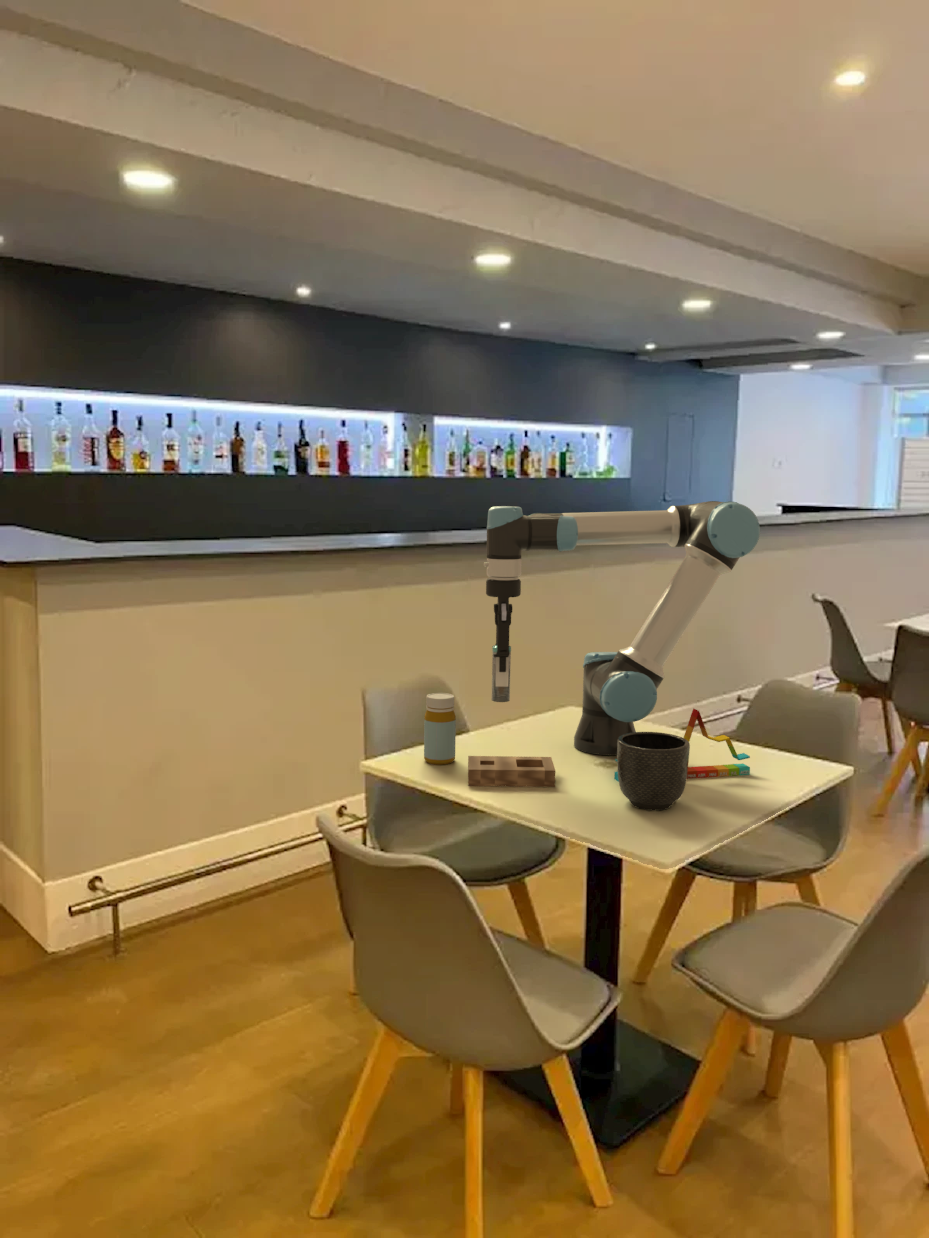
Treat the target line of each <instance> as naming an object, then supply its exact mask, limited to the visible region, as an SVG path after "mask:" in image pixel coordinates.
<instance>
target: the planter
mask: <svg viewBox="0 0 929 1238" xmlns="http://www.w3.org/2000/svg"><path fill="white" fill-rule="evenodd" d="M690 750H691V745H690V741H689V742H688V741H687V740H686V739H684V737H682V736H679V735H676V734H671V733H666V732H657V731H636V732H633V733H627V734H624V735H621V736H620V737H619V738H618V741H617V755H616V759H617V761H616V762H617V764H616V765H617V772H618V780H619V782H618V784H619V788H620V791H621V793H622V794H623V796H624V797H625V798H627V800H629V803H630V805H632V806H633V807H635V808H638V809H639V810H645V811H663V810H667V809H669V808H671V807H672V806H673V804H674V803H675V802H677V801H678V800H680V798H681V797H682V795H683V793H684V791H685V789H686V784H687V772H688V767H689V761H690Z"/></svg>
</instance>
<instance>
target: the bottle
mask: <svg viewBox="0 0 929 1238" xmlns="http://www.w3.org/2000/svg"><path fill="white" fill-rule="evenodd" d="M425 699H426V700H425V701H426V711H425V714H424V725H423V726H424V727H423V728H424V729H423V730H424V731H423V733H424V734H423V735H424V737H423V759H424V760H425V762H426V763H428V764H431V765H435V766H436V765H438V766H443V765H444V766H445V765H449V764H452V763H453V762H454V761H455V760H456V735H457V734H456V733H457V731H456V726H457V724H456V723H457V722H456V721H457V720H456V714H455V707H454V706H455V696H454V694H453V693H452V694H451V693H447V692H434V693H428V694H426V698H425Z"/></svg>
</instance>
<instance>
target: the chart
mask: <svg viewBox="0 0 929 1238" xmlns="http://www.w3.org/2000/svg"><path fill="white" fill-rule="evenodd" d="M696 722H697V723H698V727H699V729H700V732H701V735H702V737H704V738H706V739H708V740H711V741H714V742H717V743H721V742H724V741H725V742H726V745H727V747H728V750H729V751H730V754H731V756H732V757H733V758H734V759H736V760H737V761H742V760H746V759H750V758H751V756H750V755H748V754H747V753H745V752H743V753H742V752H741V753H738V754H737V752H736V749H735V747H734V745H733V742H732V741H731V738H730V737H729V736H727V735H724V734H721V735H717V736H713V737H712V736H711V735H709V734H708V731H707V729H706V726H705V723H704V721H703V718H702V715H701V712H700V710H698V709H695V708H692V711H691V714H690V717H689V721H688V723H687V726H686V729H685V731H684V734H683V738H684V739H686V740H687V741H688V742H689V743H690V741H691V738H692V735H693V732H694V729H695V725H696ZM614 761H615V762H617V758H614ZM750 773H751V767H750V766H749V765H747V764H745V763H744V762H743V763H730V764H718V765H717V764H716V765H702V766H688V772H687V779H703V778H705V779H706V778H719V777H733V776H748V775H750ZM613 777H614V780H615V781H616V782H617V783H619V780H618V771H614V776H613ZM687 779H686V780H687Z"/></svg>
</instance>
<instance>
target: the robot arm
mask: <svg viewBox="0 0 929 1238" xmlns="http://www.w3.org/2000/svg"><path fill="white" fill-rule="evenodd" d="M486 523H487V525H486V562H485V561H484V562H483V567H485V568H486V567H487V568H486V576H487V577H488V578H487V579H486V580H485V582H486V583H485V594H486V596H488V597H492V598H497V603H494V604H493V613H494V624H495V626H496V627H495V628H496V629H495V645H497V653H496V654H494V657H496V686H501V687H508V676H509V657H508V656H509V654H510V652H509V646H510V626H511V625H512V614H513V604H512V603H510V598H518V597H519V596H521V592H522V591H521V590H522V589H521V588H522V584H521V583H522V581H521V579H520V577H522V559H523V558H522V552H523V551H538V552H539V551H543V552H544V551H546V552H547V551H548V552H549V551H551V552H560V553H561V552H563V551H564V552H565V551H568V552H569V551H574V550H575V548H576V547H577V546H603V545H644V544H667V545H668V546H669V547H671V548H685V557H684V558H683V560H682V561H681V562H680V565H679V566H678V568H677V570H676V571H675V573H674V574H673V576H672V577H671V579H670V580H669V582H668V583H667V585H666V587H665V588H664V590H663V592H662V594H661V595H660V597H659V598H658V599H657V602H656V603H655V605H654V607H652V609H651V611H650V613H649V614H648V615H647V618H646V619H645V621H644V622H643V624H642V626H640V627H641V628H640V629H639V631H638V632H637V633H636V635H635V637H634V639H633V640H632V641H631V644H630V645H629V646H627V647H625V648H620V649H619V650H618V651H593V652H592V651H591V652H588V653H586V654H585V656H584V659H583V664H582V668H583V677H582V679H583V680H582V709H581V710H582V713H581V714H582V715H581V717H580V719H579V721H578V725H577V728H576V731H575V734H574V737H573V738H574V739H573V746H574V748H575V749H577V750H578V751H582V752H584V753H587V754H593V755H599V756H600V755H601V756H617V741H618V738H619V737H620V736H621V735H624V734H627V733H633V732H637V731H636V728H635V725H634V723H635V722H638V721H642V720H644V719H645V718H646V717H647V716H649V715H650V714H651V712H653V710H654V708H655V706H656V703H657V700H658V691H657V690H658V688H659V687H660V686H661V684H662V682H663V681H664V679H665V672H664V670H663V669H664V666H665V664H666V662H667V661H668V659H669V657H670V656H671V654H672V653H673V651H674V649H675V648H676V646H677V645H678V643H679V641H680V640H681V638H682V637H683V635H684V634H685V632H686V630H687V629H688V627H689V626H690V624H691V623H692V621H693V619H694V618H695V616H696V614H697V613H698V612H699V610H700V608H701V607H702V605H703V603H704V602H705V600H706V598H707V597H708V595H709V594H710V592H711V591H712V590H713V587H714V585H716V583H717V580H719V578H720V576H722V575H724V574H728V573H732V570H733V569H734V567H735V566H736V564H737V562H738V561H739V559H740V558H743V557H745V556H746V555H748V554H750V553H751V552H752V551H753V550H754V549H755V548H756V546H757V544H758V542H759V541H760V540H759V539H760V534H761V527H760V523H759V520H758V517H757V515H756V514H755V513H754V511H753V510H752V509H751V508H749V507H748V506H746V505H744V504H741V503H738V502H735V501H731V500H729V501H719V500H711V501H702V502H698V503H692V504H691V503H690V504H682V505H671V506H669V507H668V508H667V510H665V509H664V510H636V511H635V510H631V511H630V510H629V511H627V510H626V511H597V512H596V511H595V512H594V511H592V512H590V511H589V512H562V513H560V512H559V513H556V512H555V513H554V512H553V513H543V512H534V513H531V514H530V515H524V513H523V509H522V507H520V506H514V505H513V506H510V505H507V506H506V505H501V506H500V505H499V506H497V505H496V506H494V505H493V506H492V507H490V508H489V509H488V512H487V522H486Z"/></svg>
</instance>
